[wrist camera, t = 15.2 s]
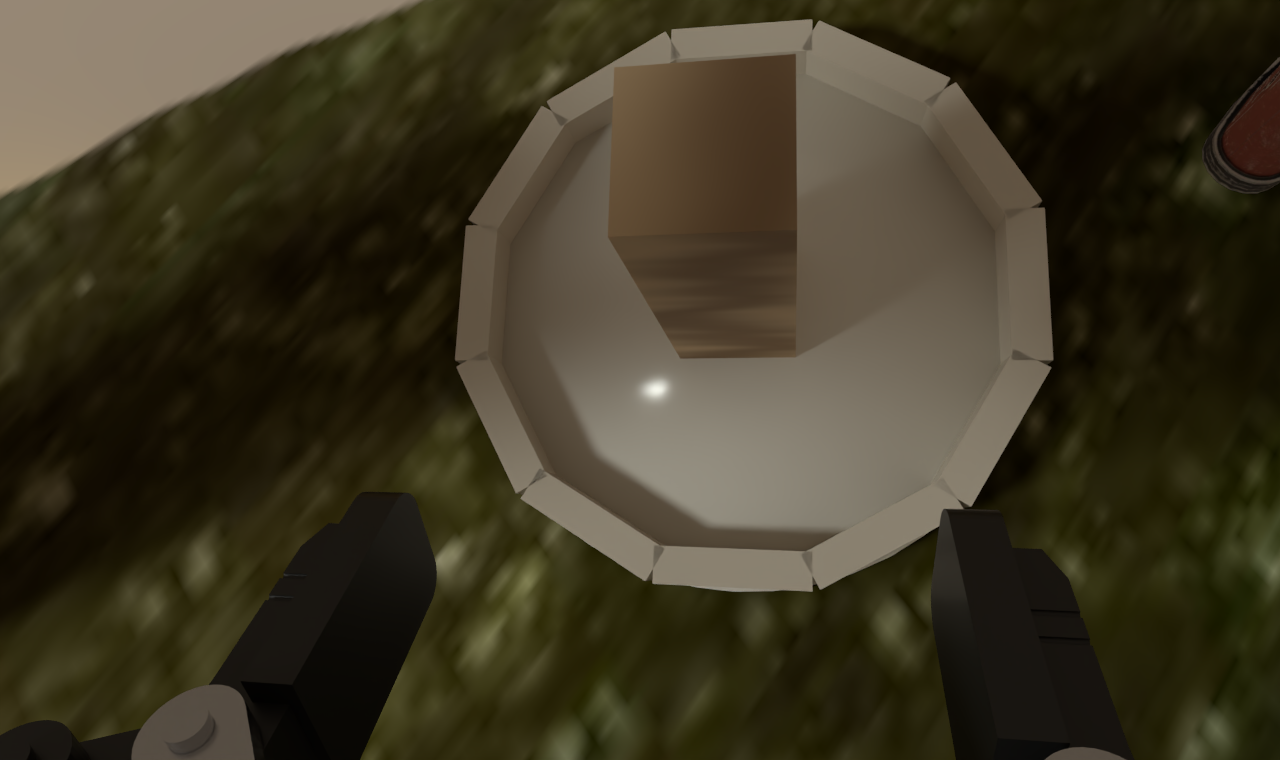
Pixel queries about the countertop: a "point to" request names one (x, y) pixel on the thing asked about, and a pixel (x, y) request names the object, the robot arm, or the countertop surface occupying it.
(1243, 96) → the lighter
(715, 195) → the oak block
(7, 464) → the countertop surface
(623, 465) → the round dish
